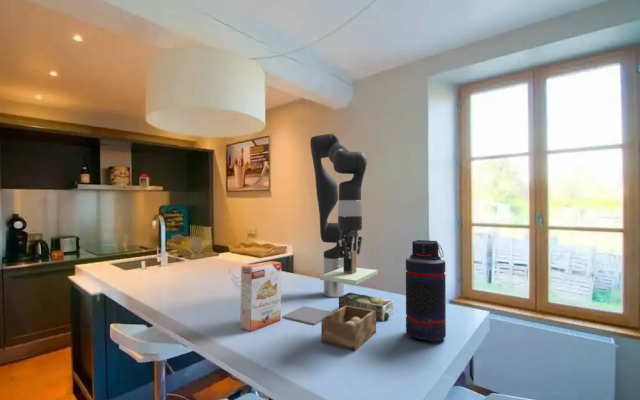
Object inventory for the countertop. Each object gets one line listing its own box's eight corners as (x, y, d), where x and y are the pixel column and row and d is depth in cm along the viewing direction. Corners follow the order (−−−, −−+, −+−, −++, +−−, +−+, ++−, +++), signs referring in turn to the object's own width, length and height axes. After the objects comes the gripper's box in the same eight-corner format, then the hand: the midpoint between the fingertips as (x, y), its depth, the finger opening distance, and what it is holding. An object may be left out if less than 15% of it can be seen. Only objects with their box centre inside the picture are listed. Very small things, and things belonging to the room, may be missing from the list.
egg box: (345, 325, 110) (345, 305, 110) (375, 332, 105) (375, 310, 105) (321, 342, 97) (321, 319, 97) (354, 351, 91) (354, 326, 91)
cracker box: (251, 332, 104) (251, 267, 105) (239, 328, 108) (239, 265, 108) (282, 320, 115) (282, 261, 116) (270, 317, 119) (270, 260, 119)
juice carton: (396, 314, 122) (396, 298, 122) (385, 322, 114) (385, 305, 114) (350, 306, 134) (350, 291, 134) (337, 312, 126) (337, 297, 126)
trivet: (303, 307, 130) (303, 306, 130) (334, 313, 123) (334, 312, 123) (282, 317, 118) (282, 316, 118) (314, 325, 111) (314, 323, 111)
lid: (345, 271, 111) (345, 246, 112) (378, 275, 105) (378, 248, 105) (319, 281, 97) (319, 252, 97) (355, 286, 91) (355, 255, 91)
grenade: (442, 347, 93) (442, 243, 94) (401, 339, 99) (401, 241, 100) (449, 331, 105) (448, 239, 106) (412, 325, 111) (412, 238, 112)
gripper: (349, 214, 109) (349, 265, 109) (328, 215, 97) (328, 272, 97) (369, 214, 105) (369, 267, 105) (350, 215, 93) (350, 275, 93)
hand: (349, 269), depth 101 cm, fingers closed on lid, 3 cm apart
